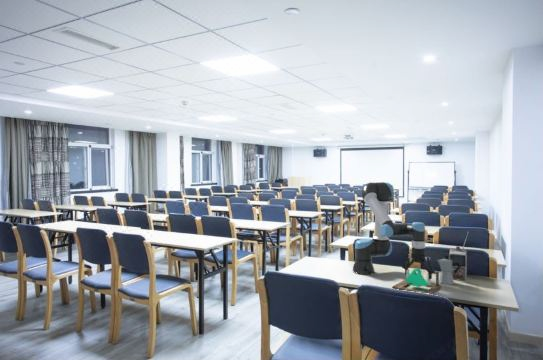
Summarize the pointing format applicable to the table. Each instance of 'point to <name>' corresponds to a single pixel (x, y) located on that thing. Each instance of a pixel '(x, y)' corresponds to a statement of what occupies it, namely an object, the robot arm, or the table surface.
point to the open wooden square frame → (434, 288)
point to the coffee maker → (447, 270)
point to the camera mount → (416, 278)
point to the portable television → (461, 258)
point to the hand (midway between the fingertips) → (418, 282)
